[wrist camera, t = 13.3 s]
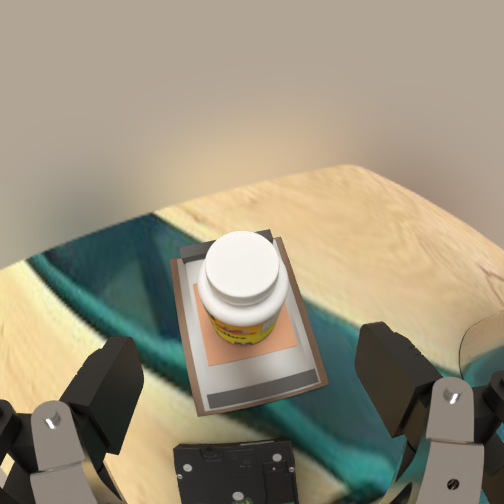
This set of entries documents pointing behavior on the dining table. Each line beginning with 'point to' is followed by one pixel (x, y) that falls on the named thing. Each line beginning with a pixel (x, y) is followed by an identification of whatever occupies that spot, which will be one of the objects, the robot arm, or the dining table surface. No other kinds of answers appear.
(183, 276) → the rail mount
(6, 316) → the dining table surface
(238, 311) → the supplement bottle
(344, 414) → the dining table surface
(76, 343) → the dining table surface
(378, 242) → the dining table surface
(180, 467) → the disk drive
